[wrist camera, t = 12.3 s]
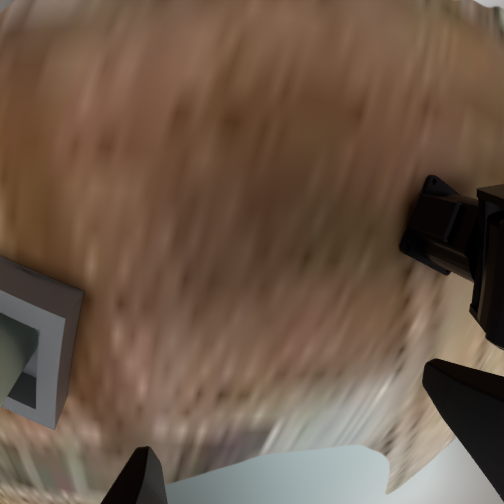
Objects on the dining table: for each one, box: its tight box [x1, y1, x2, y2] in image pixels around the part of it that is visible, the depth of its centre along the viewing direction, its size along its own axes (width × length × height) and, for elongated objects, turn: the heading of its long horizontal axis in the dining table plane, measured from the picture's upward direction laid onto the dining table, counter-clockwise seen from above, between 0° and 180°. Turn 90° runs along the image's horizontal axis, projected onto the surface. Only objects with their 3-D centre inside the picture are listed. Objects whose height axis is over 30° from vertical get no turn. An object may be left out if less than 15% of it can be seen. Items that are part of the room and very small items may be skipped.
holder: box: [0, 256, 84, 430], centre depth 17 cm, size 10×10×4 cm
